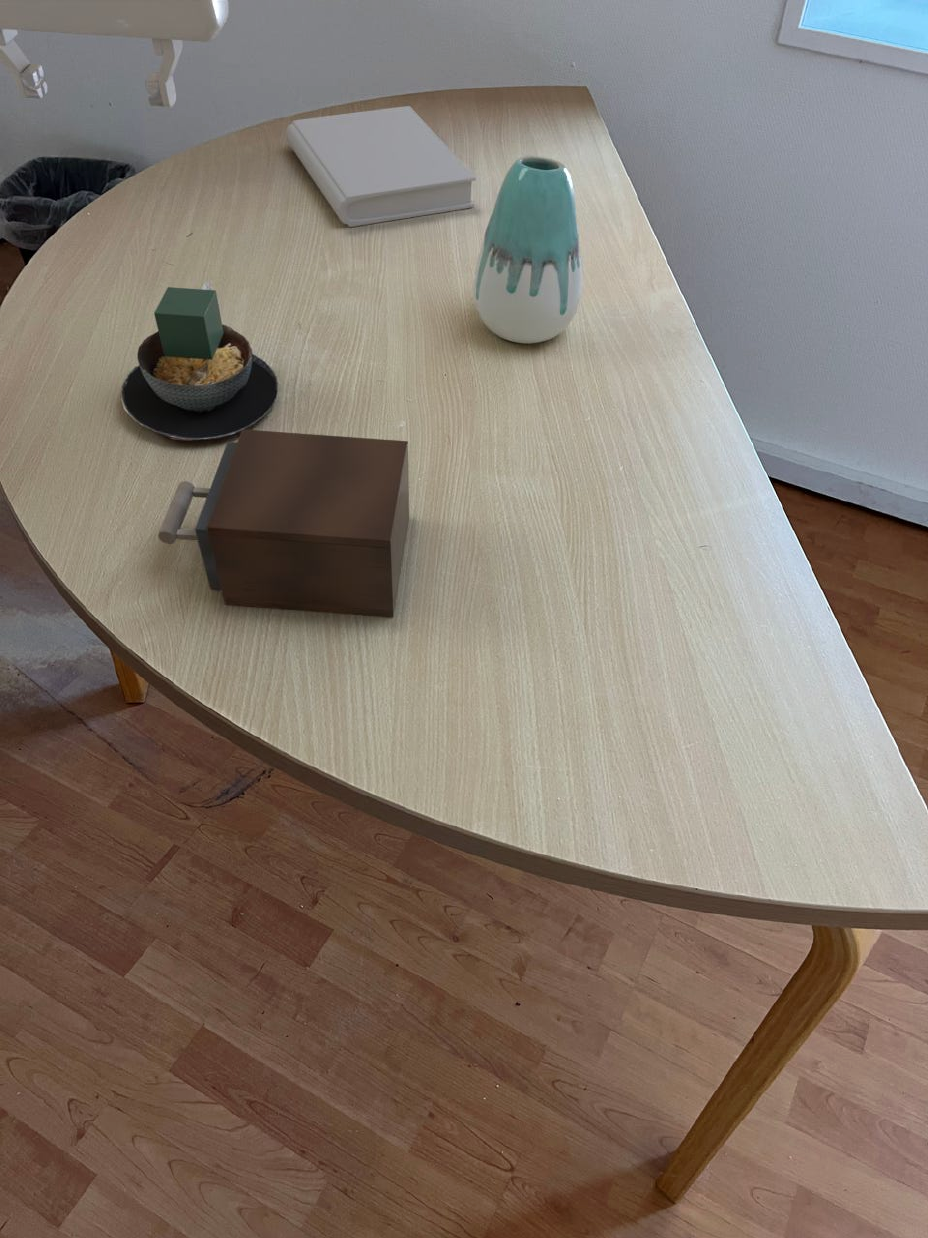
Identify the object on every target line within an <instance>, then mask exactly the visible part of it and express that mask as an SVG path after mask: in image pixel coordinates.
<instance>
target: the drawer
mask: <svg viewBox="0 0 928 1238" xmlns="http://www.w3.org/2000/svg"><path fill="white" fill-rule="evenodd" d="M237 442H238V441H227V442H226V445H225V447H224V451H223V453H222V455H221V458H220V461H219V464H218V466H217V469H216V472H215V473H214V477H213V480H212V482H211V485H210V488H209V487H196V486H195V485H194V484H193V483H191V482H190V481H187V480H184V481H183V480H182V481H180V482H179V483H178V485H177V488H176V490H175V492H174V494H173V498H172V499H171V501H170V505H169V507H168V510H167V513H166V514H165V517H164V519H163V522H162V524H161V525H160V529H159V531H158V534H157V538H158V540H160V542H162V543H164V544H166V545H167V544H168V545H172V544H175V543H176V541H177V540H181V541H182V540H184V541H194V542H195V541H197V544H198V547H199V552H200V554H201V555H200V556H201V558H202V564H203V567H204V571H205V575H206V579H207V583H208V586H209V590H210V591H214V592H215V591H216V592H217V591H218V592H222V589H221V585H220V581H219V577H218V573H217V569H216V565H215V561H214V556H213V552H212V548H211V544H210V540H209V536H208V531H207V525H208V522H209V519H210V516H211V514H212V511H213V508H214V505H215V503H216V500H217V497H218V494H219V492H220V489H221V486H222V483H223V481H224V478H225V475H226V472H227V470H228V467H229V464H230V462H231V459H232V456H233V453H234V451H235V448H236V445H237ZM193 498H205V501H204V503H203V506H202V509H201V512H200V514H199V517H198V520H197V522H196V525H195V528H194V529H183V528H182V525H183V524H184V521H185V518H186V516H187V513H188V510H189V507H190V505H191V503H192V500H193Z"/></svg>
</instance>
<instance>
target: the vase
mask: <svg viewBox="0 0 928 1238" xmlns="http://www.w3.org/2000/svg"><path fill="white" fill-rule="evenodd" d="M579 235H580V234H579V229H578V222H577V208H576V197H575V190H574V183H573V180H572V177H571V174H570V172H569V170H568V168H567V167H566V166H565V164H564V163H562V162H561V161H558V160H556V159H552V158H548V157H544V156H536V155H526V156H522V157H519V158H518V159H516V160H515V161H514V163H513V164H512V165H511V166H510V168H509V169H508V171H507V172H506V175H505V176H504V178H503V180H502V183H501V185H500V188H499V190H498V193H497V196H496V198H495V203H494V206H493V209H492V213H491V216H490V218H489V221H488V223H487V226H486V229H485V232H484V236H483V239H482V242H481V243H482V244H481V247H480V251H479V254H478V256H477V260H476V265H475V269H474V274H473V275H474V276H473V283H472V284H473V285H472V289H473V300H474V305H475V308H476V311H477V314H478V315H479V317H480V319H481V321H482V322H483V324H484V325H485V326H486V328H488V330H489V331H491V332H492V333H493V334H494V335H496V336H497V337H499V338H501V339H503V340H506V341H509V342H512V343H517V344H539V343H542V342H545V341H549V340H551V339H553V338H556V337H557V336H558V335H560V334H561V333H562V332H563V331H564V330H566V329H567V328H568V326H569V325H570V324H571V323H572V321H574V320H573V319H574V318H575V317H576V315H577V312H578V310H579V307H580V304H581V300H582V297H583V296H582V295H583V287H584V286H583V282H584V281H583V280H584V278H583V277H584V276H583V274H584V273H583V272H584V271H583V259H582V252H581V248H580V236H579Z"/></svg>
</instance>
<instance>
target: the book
mask: <svg viewBox="0 0 928 1238" xmlns="http://www.w3.org/2000/svg"><path fill="white" fill-rule="evenodd" d="M285 139H286V141H287V143H288V145H289V146H290V147H291V149H292V151H293V153H294V154H295V155H296V156H297V158H298V159H299V161H300V163H301V164H302V166H303V167H304V168H305V170H306V171H307V173H308V174H309V176H310V178H311V179H312V180H313V181H314V183H315V184H316V186H317V187H318V189H319V190H320V192H321V194H322V195H323V196H324V198H325V200H326V201H327V203H328V204H329V205H330V207H331V208H332V210H333V211H334V212H335V214H336V215H337V217H338V219H339V220H340V222H341V223H342V224H344V225H347V226H348V228H352V227H360V226H365V225H371V224H378V223H384V222H385V223H386V222H390V221H391V222H392V221H397V220H404V219H409V218H415V217H422V216H428V215H435V214H441V213H447V212H452V211H458V210H464V209H465V210H467V209H472V208H475V203H474V202H473V201H472V182H476V179H477V178H476V176H475V175H473V173H472V172H471V171H470V170H469V169H468V168H467V166H466V165H465V164H464V163H463V162H462V161H461V160H460V159H459V158H458V157H457V155H455V153H453V152H452V151H451V149H450V148H449V147H448V146H447V145H446V144H445V143H444V141H442V140H441V138H440V137H439V136H438V135H437V134H436V133H435V132H434V131H433V129H431V128H430V126H429V125H427V123H426V122H425V121H424V120H423V119H422V118H421V117H420V116H419V114H417V112H416V111H414V109H413V108H412V107H411V106H410V105H406V106H398V107H390V108H382V109H373V110H365V111H357V112H350V113H342V114H334V115H325V116H319V117H318V116H317V117H310V118H309V117H308V118H302V119H295V120H292V122H291V123H290V124H288V125H287V127H286V131H285Z"/></svg>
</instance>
